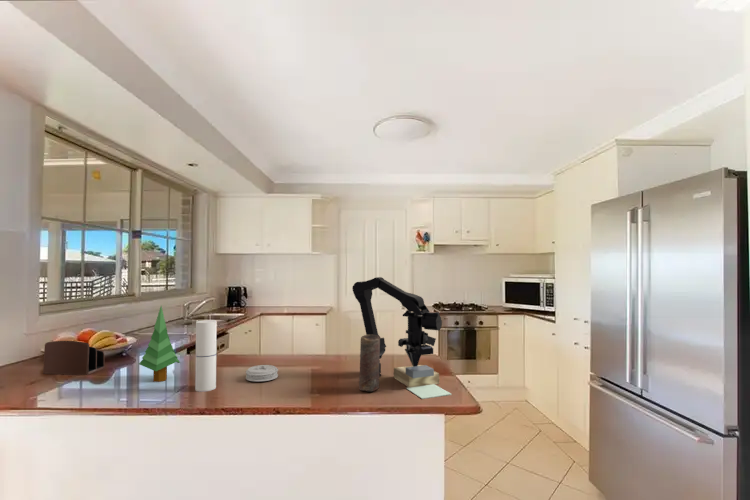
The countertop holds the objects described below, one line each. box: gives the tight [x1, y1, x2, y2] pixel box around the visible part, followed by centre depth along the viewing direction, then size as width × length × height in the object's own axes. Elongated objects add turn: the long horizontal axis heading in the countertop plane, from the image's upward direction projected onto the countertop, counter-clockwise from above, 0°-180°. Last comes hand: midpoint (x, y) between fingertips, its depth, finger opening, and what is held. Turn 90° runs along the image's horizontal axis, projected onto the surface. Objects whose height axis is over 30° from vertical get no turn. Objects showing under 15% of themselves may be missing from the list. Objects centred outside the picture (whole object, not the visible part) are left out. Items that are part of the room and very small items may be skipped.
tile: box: [405, 364, 435, 378], centre depth 155 cm, size 9×6×2 cm, turn 113°
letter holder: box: [42, 340, 105, 376], centre depth 173 cm, size 10×20×14 cm, turn 86°
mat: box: [406, 384, 452, 400], centre depth 147 cm, size 12×12×1 cm
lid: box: [245, 364, 279, 382], centre depth 163 cm, size 13×13×5 cm
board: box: [393, 364, 440, 388], centre depth 160 cm, size 13×14×4 cm
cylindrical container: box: [194, 319, 218, 393], centre depth 151 cm, size 7×7×25 cm
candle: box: [358, 334, 381, 393], centre depth 149 cm, size 8×7×20 cm
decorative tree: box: [138, 305, 182, 383], centre depth 161 cm, size 14×16×30 cm
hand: (415, 368), depth 158 cm, fingers closed
